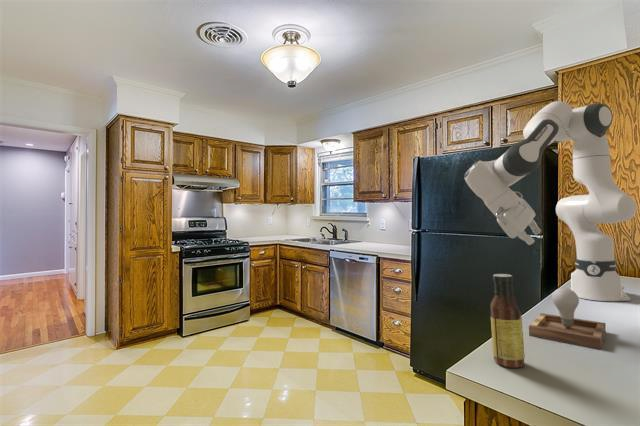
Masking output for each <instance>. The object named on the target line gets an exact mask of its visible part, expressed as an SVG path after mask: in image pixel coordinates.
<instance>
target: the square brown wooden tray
mask: <svg viewBox="0 0 640 426" xmlns="http://www.w3.org/2000/svg"><path fill="white" fill-rule="evenodd" d="M606 333H607V332H606V322H601V321H595V320H589V319H582V318H575V317H574V319H573V326H572V327H570V328H566V327H565V326H563V325H562V320H561V317H560V315H555V314H549V313H540V314H539V315H538V316H537V317H536V318H535V319H534V320H533V321H532V322H531V324H530V325H528V335H529V336H531V337H536V338H540V337H541V339H545V338H546V340H551V339H552V340H551V341H556V340H557V341H558V342H561V341H562V343H566V342H567V343H568V344H571V343H572V344H573V345H576V344H577V345H578V346H581V345H583V346H582V347H586V346H588V347H587V348H591V347H592V348H593V349H597V350H601V348H602V345H603V342H604V339H605V336H606ZM557 341H556V342H557ZM577 345H576V346H577Z"/></svg>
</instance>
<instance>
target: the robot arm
mask: <svg viewBox="0 0 640 426" xmlns="http://www.w3.org/2000/svg"><path fill="white" fill-rule="evenodd" d="M612 122H613V113H612V110H611V108H610V107H609V106H608V105H607V104H605V103H602V102H599V103H591V104H588V105H584V106H579V107H576V108H572V106H571V104H569V103H568V102H565V101H561V100H556V101H552V102H550V103H548V104H547V105H545V106H544V107H542V108H541V109H540V110H539V111H538V112H536V113H535V114H534V115H533V117H531V119H530V120H529V121H528V122H527V123H526V125H525V126H524V128H523V131H522V134H523V138H524V140H521V141H518V142H516V143H513V144H512V145H511V146H510V147H509V148H508V149H507V150H506V151H505V152H504V153H503V154H502V155H500V157H498V158H497V159H493V160H490V161H483V160H477V161H476V162H474V163H473V164H472V165H471V166H470V167H469V168H468V169H467V170H466V171H465V173H464V176H463V177H464V180H465V183H466V184H467V186H468V187H469V188H470V189H471V191H472V192H473V193H474V194H475V195H476V197H478V198H480V199H481V200H482V201H483V203H484V205H485V206H486V207H487V208H488V210H489V211H490V212H491V213H492V215H494V216H495V217H496V221H497V223H498V225H499V226H500V227H501V229H502V230H503V232H504V233H505V234H506V235H507V237H509V238H511V239H515V238H517V237H518V238H519V239H520V240H521V241H523V242H525V243H526V244H527V245H528V246H531V245H533V244H534V243H535V239H534V238H533V237H532V236H529V235H528V233H527V232H526V231H525V230H526V229H527V227H530V230H532V231H531V232H532V233H533V234H534V235H536V236H537V235H539V234H541V232H542V230H541V228H539V226H538V224H537V222H536V221H535V220H534V218H535V217H536V215H537V214H536V213H535V210H534V209H533V208H532V207H531V205H529V203H528V202H527V201H526V200H525V199H524V198H523V197H524V196H523V194H522V193H521V192H519V191H513V190H512V189H511V188H510V186H512V185H514V184H516V183H517V182H518V181H521V179H523V178H524V177H526V176H527V175H530V174H531V173H533V172H535V171H536V170H538V168H539V166H540V165H541V163H542V157H543V153H544V151H545V150H546V149H547V147H548V146H550V145H551V144H554V143H555V144H556V143H557V144H558V143H562V142H569V141H573V144H572V175H573V179H574V181H575V182H576V183H578V184H580V185H582V186H584V187H586V189H587V191H588V194H577V195H571V196H567V197H563V198H560V199H559V200H558V201H557V204H556V206H555V214H556V216H557V217H558V218H559V219H560V220H561V221H562V222H564V223H565V224H566V225H567V227H568V228H569V229H570V231H571V233H572V234H573V238H574V240H575V241H574V243H575V250H576V253H575V254H576V258H575V262H574V264H575V270H574V271H572V272H571V274H570V288H569V289H570V290H572V291H574V292H575V293H576V294H577V296H578V298H579V299H584V300H590V301H597V302H599V301H600V302H619V301H622V302H623V301H624V302H625V301H627V302H628V301H630V302H631V297H630V296H629V295H628V294H627V293H626V292H625V291H624V288H625V287H624V286H623V279H622V278H623V277H622V276H621V275H620V274H619V273H617V262H616V260H615V252H614V251H615V245H614V240H613V238H612V237H611V236H610V235H608V234H606V233H604V232H603V231H601V229H599V226H598V224H616V223H618V224H619V223H624V222H627V221H631V220H632V218H634V217H635V215H636V213H637V211H638V210H637V209H638V207H637V206H638V205H637V202H636V201H635V199H634V198H633V197H632V196H631V195H630V194H628V193H626V192H624V191H623V190H622V189H620V187H619V186H618V185H617V183H616V182H615V181H614V177H613V174H612V166H611V152H610V151H611V150H610V145H609V141H608V136H607V132H608V130H609V129H610V127H611V125H612Z"/></svg>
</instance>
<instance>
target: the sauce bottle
mask: <svg viewBox="0 0 640 426" xmlns="http://www.w3.org/2000/svg"><path fill="white" fill-rule="evenodd" d="M492 281H493V283H494V284H493V285H494V291H493V292H494V295H493V298H492V299H491V301H490V305H489V307H490V329H491V339H492V341H491V343H492V354H493V360H494V361H495V363H497V364H498V365H500V366H502V367H505V368H510V369H511V368H513V369H517V368H521V367H524V365H525V356H526V355H525V345H524V332H523V321H522V319H523V318H522V312H521V308H520V306H519V304H518V302H517V298H516V296H515V294H514V285H513V282H514V277H513V275H511V274H508V273H494V274H493V275H492Z"/></svg>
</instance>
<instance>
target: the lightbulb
mask: <svg viewBox="0 0 640 426" xmlns="http://www.w3.org/2000/svg"><path fill="white" fill-rule="evenodd" d="M570 289H571V288H566V287H560V288H557V289H555V290H554V291H553V292H552V294H551V300H552V303H553V304H554V306H555V307H556V309H557V310H558V314H559V316H560V317H561V320H562V325H563V326H565V327H566V328H570V327H572V326H573V319H574V318H575V311H576V309H577V308H578V305H579V303H580V298H579V297H578V296H577V294H576V293H575V292H574V291H572V290H570Z"/></svg>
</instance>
